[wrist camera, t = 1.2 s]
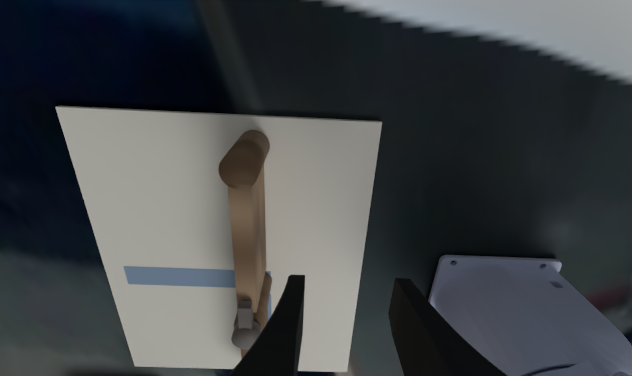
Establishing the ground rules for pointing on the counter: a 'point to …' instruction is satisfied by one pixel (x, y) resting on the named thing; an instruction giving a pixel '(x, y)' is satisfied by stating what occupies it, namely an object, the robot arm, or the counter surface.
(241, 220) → the swing rail
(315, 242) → the board
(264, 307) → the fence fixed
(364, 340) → the counter surface
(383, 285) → the counter surface
